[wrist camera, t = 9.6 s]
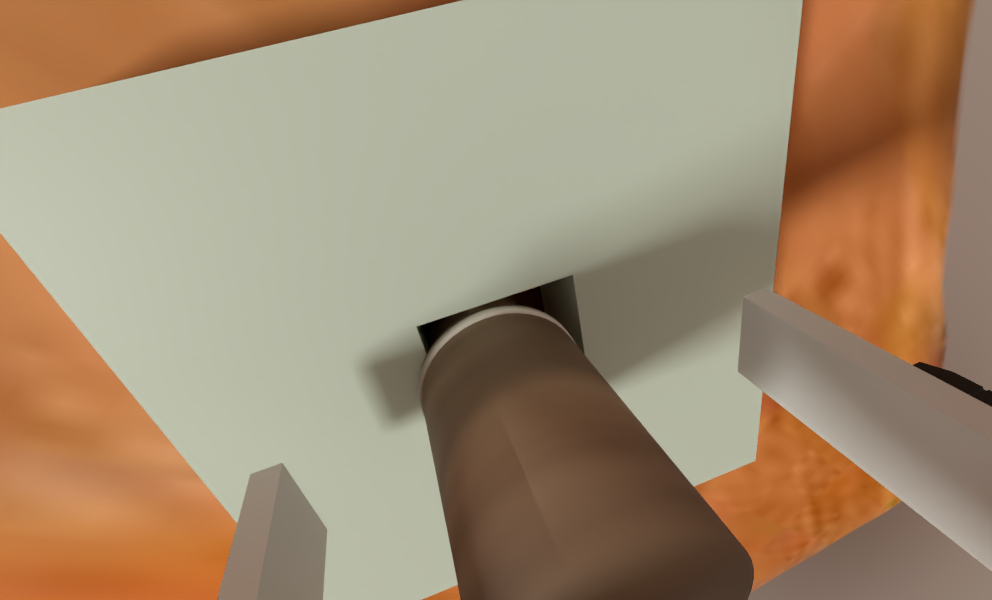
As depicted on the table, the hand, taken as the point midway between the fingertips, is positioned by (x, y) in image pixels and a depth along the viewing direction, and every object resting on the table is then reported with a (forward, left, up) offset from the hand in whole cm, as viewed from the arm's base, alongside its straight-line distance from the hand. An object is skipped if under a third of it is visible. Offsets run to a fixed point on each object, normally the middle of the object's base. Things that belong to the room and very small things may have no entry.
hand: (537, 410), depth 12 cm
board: (0, 0, -7) cm, 7 cm away
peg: (+1, 0, -7) cm, 7 cm away
